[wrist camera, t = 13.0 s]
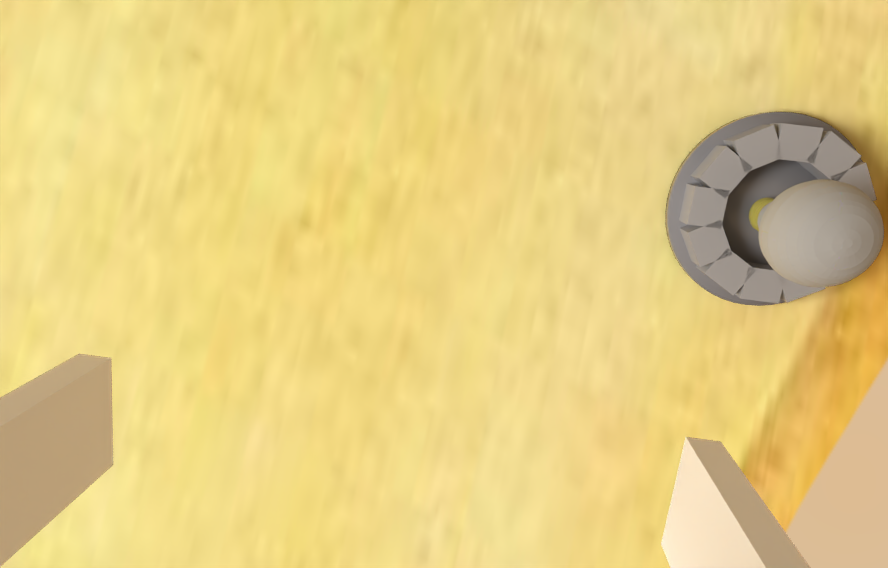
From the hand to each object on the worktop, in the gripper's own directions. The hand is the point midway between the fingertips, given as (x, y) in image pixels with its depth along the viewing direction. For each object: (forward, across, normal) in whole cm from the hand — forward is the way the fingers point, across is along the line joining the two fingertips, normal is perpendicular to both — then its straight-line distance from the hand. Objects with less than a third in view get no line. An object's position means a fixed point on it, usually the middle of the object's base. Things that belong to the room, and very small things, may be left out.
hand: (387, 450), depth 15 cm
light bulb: (+28, +19, +4) cm, 34 cm away
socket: (+29, +19, +4) cm, 35 cm away
